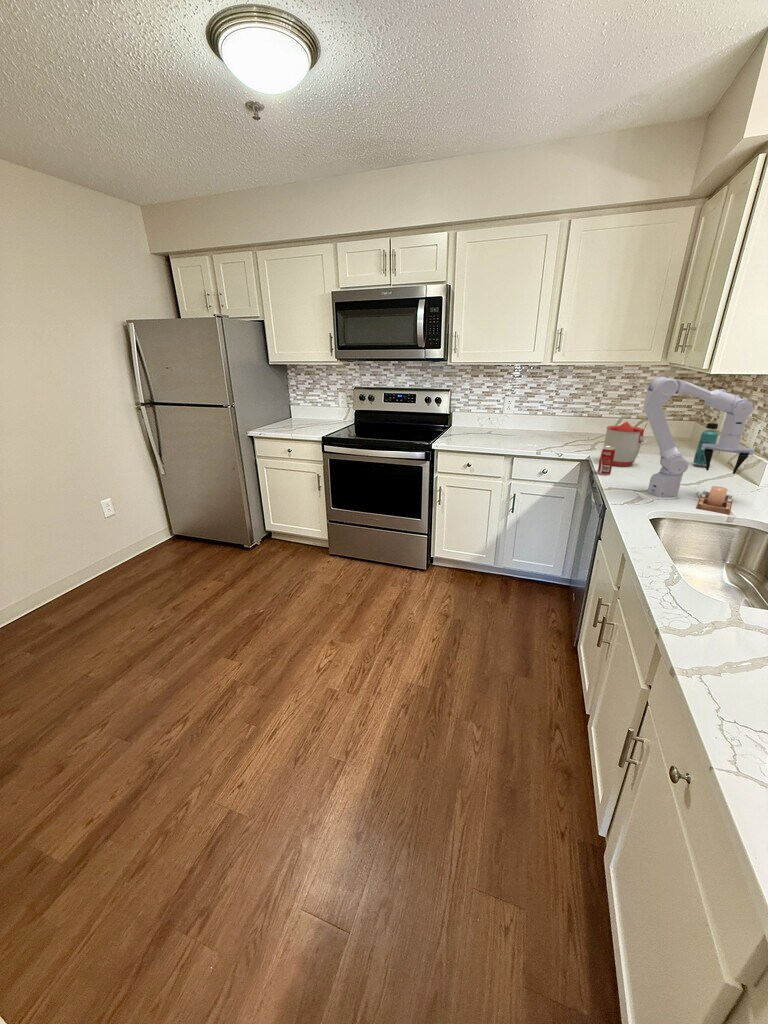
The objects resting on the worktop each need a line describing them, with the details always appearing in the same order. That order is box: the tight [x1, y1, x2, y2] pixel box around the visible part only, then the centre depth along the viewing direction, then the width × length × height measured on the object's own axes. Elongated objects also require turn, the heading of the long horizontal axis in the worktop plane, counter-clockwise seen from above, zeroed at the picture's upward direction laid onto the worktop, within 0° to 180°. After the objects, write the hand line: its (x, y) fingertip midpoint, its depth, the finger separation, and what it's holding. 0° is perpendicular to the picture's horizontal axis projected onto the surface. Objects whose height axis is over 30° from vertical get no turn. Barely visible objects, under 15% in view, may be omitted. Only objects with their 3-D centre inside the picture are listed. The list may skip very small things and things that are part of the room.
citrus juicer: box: [603, 421, 647, 467], centre depth 198 cm, size 16×17×20 cm
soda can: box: [597, 445, 615, 476], centre depth 184 cm, size 5×5×12 cm
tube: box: [706, 485, 729, 507], centre depth 144 cm, size 4×4×7 cm
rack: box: [695, 490, 733, 516], centre depth 148 cm, size 18×9×2 cm, turn 140°
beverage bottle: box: [693, 422, 719, 466], centre depth 193 cm, size 6×7×20 cm
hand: (720, 471), depth 152 cm, fingers open, 7 cm apart
